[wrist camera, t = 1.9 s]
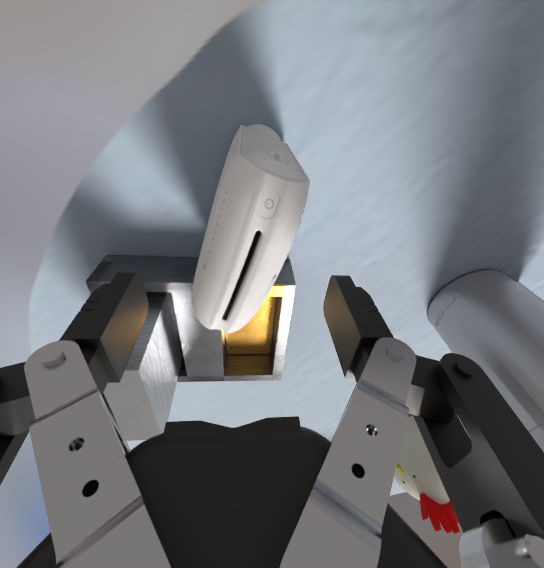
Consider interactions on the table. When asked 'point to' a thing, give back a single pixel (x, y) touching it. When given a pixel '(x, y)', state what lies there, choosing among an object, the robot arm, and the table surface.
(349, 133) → the table surface
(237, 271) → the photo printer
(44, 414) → the robot arm
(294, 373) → the table surface
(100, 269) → the rack
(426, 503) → the kitchen timer
